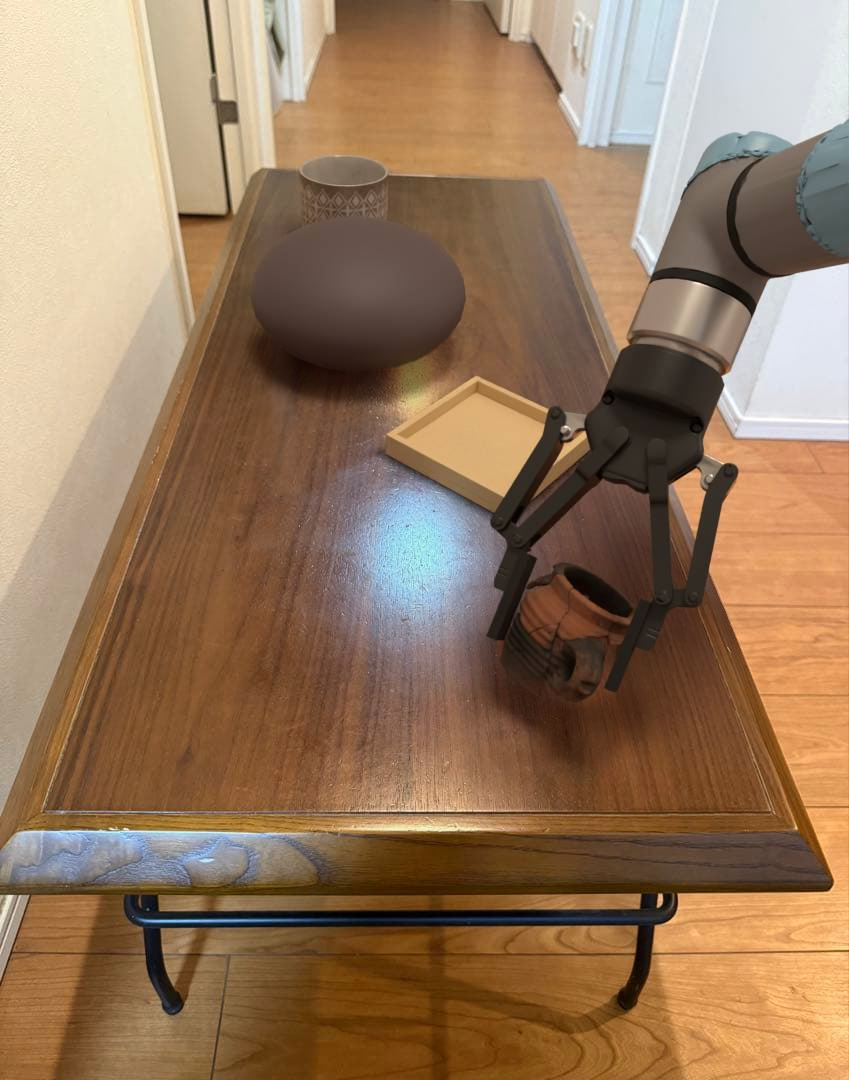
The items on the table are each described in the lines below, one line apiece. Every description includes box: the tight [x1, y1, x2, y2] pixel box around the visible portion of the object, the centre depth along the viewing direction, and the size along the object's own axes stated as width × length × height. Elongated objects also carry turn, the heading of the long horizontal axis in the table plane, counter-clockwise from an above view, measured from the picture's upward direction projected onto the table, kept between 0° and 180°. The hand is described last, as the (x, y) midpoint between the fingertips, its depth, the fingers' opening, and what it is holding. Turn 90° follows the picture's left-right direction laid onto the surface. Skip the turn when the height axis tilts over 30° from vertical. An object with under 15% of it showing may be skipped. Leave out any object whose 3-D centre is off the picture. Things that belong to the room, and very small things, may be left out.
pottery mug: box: [496, 561, 635, 703], centre depth 61 cm, size 12×10×8 cm
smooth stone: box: [249, 216, 467, 373], centre depth 97 cm, size 25×25×15 cm
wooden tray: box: [385, 375, 590, 514], centre depth 87 cm, size 16×16×2 cm
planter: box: [298, 153, 390, 227], centre depth 122 cm, size 13×13×10 cm
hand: (551, 662), depth 58 cm, fingers closed on pottery mug, 8 cm apart
